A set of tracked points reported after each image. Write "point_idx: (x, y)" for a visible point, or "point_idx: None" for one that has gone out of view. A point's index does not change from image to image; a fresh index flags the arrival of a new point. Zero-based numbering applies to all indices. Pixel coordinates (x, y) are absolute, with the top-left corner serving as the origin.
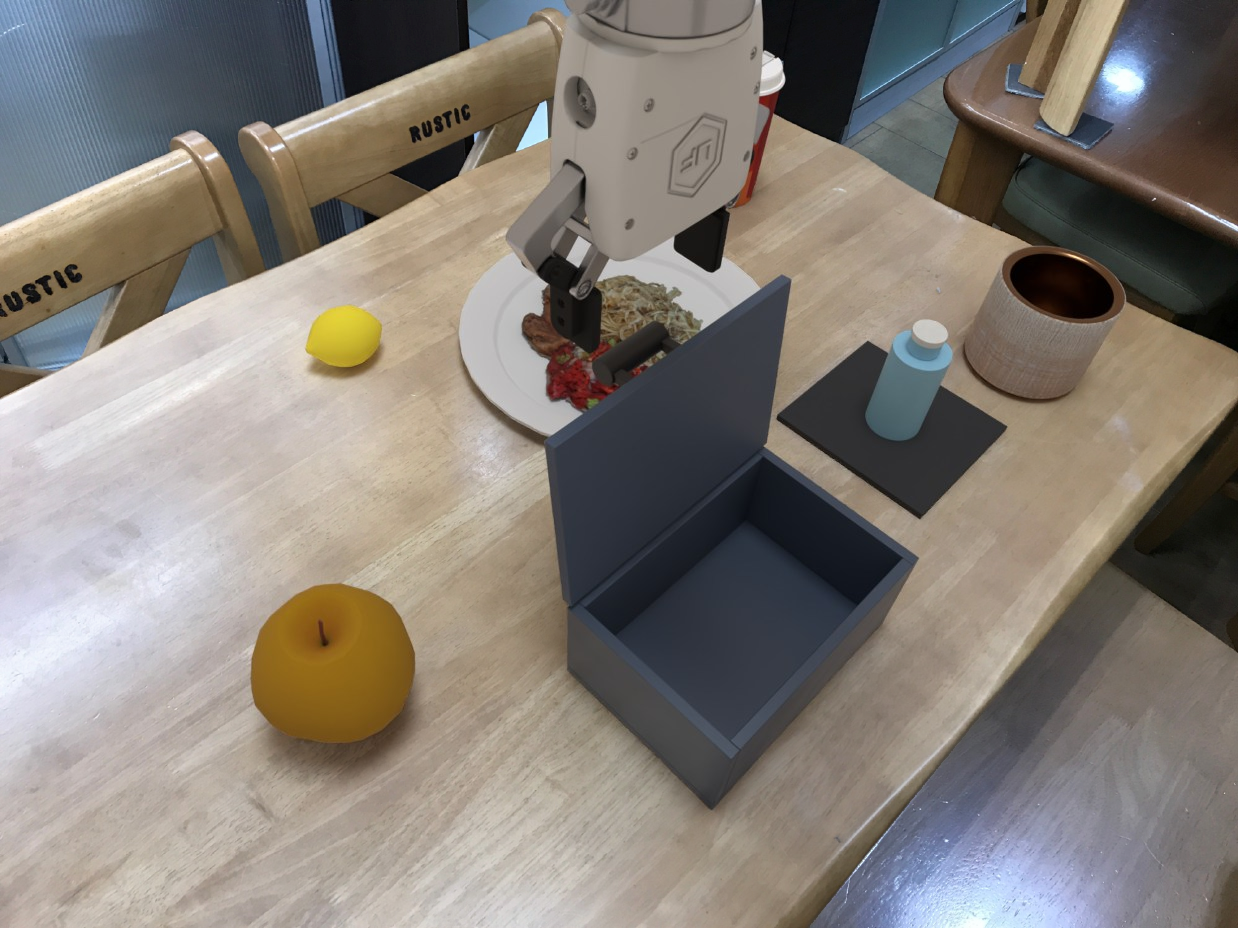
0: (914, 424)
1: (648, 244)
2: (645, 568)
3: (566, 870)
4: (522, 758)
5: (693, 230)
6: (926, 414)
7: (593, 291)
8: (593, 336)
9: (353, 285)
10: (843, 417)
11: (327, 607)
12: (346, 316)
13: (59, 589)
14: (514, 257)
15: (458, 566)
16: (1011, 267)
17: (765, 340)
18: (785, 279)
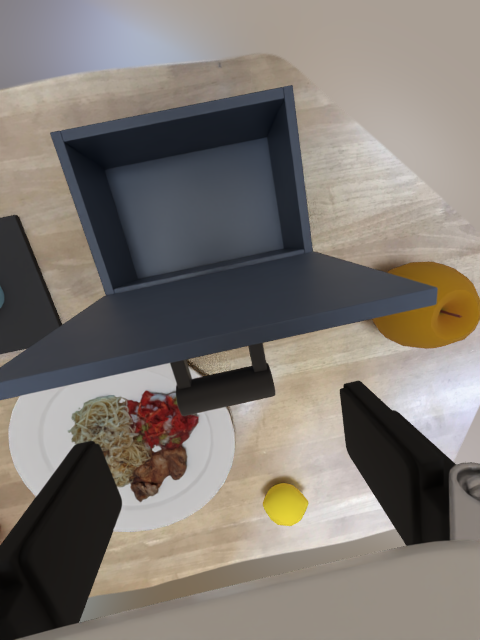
0: None
1: (438, 593)
2: (242, 260)
3: (353, 153)
4: (337, 221)
5: (86, 533)
6: None
7: (433, 473)
8: (376, 396)
9: (253, 534)
10: (18, 314)
11: (440, 327)
12: (286, 517)
13: (454, 418)
14: (160, 523)
15: (302, 341)
16: None
17: (63, 341)
18: None
